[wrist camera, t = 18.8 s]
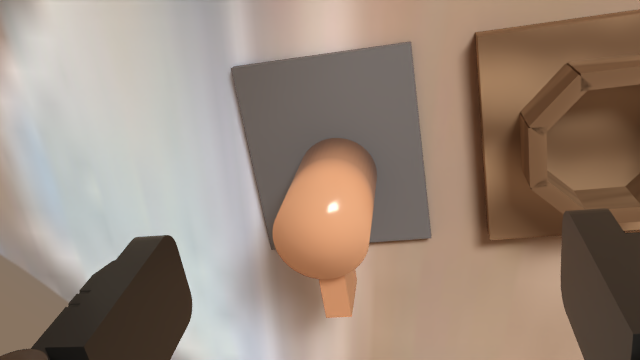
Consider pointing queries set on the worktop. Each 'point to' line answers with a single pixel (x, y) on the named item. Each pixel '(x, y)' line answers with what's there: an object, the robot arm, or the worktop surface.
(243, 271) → the worktop surface
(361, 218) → the peach ice lolly
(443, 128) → the worktop surface
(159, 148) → the worktop surface
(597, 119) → the walnut holder
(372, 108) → the charcoal mat
